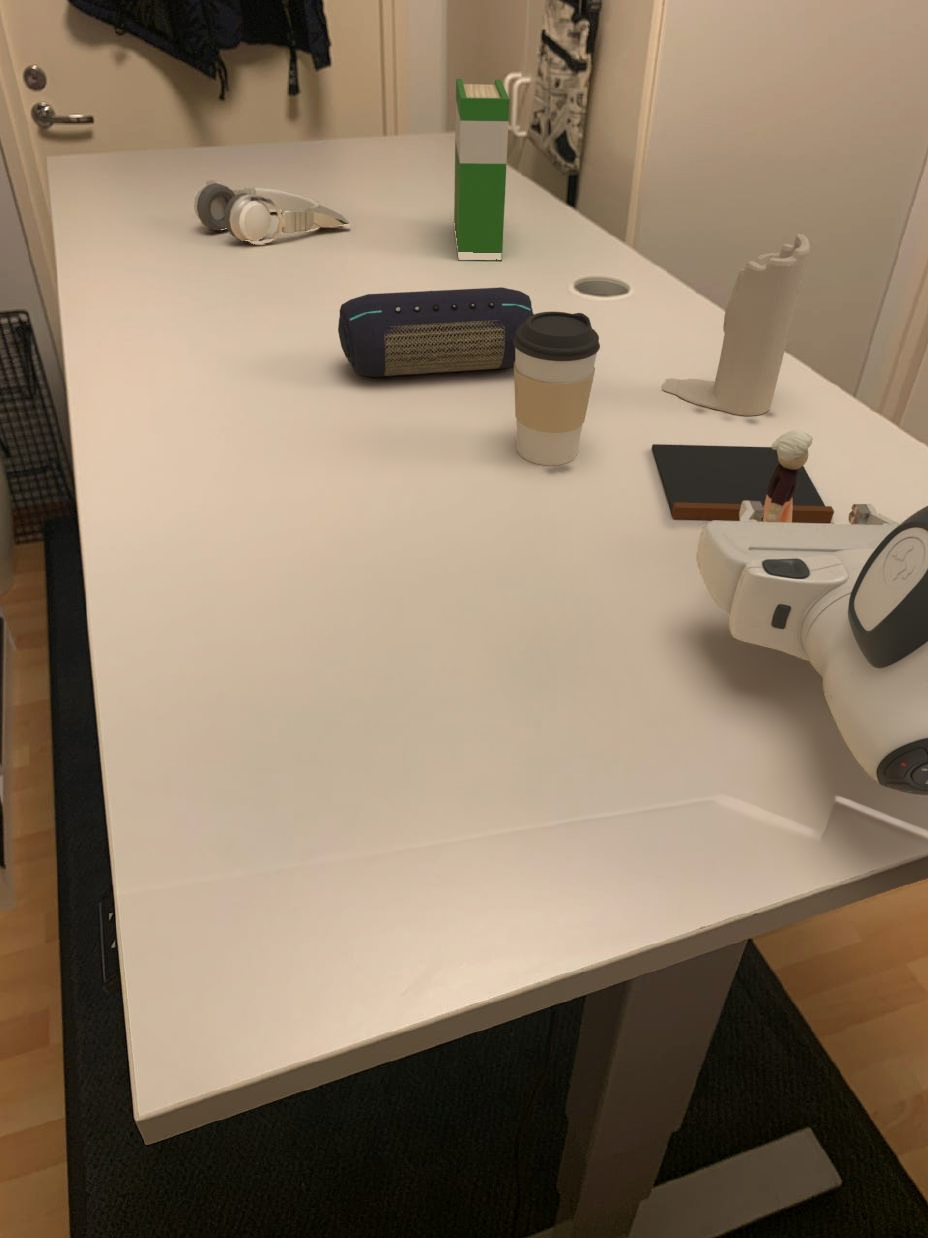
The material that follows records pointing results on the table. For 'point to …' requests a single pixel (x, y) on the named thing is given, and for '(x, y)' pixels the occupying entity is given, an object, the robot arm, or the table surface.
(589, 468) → the table surface
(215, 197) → the headphones
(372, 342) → the portable speaker
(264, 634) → the table surface
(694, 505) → the chalkboard
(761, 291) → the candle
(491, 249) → the hardback book
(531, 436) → the coffee cup
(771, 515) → the grandmother figurine
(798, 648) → the robot arm
